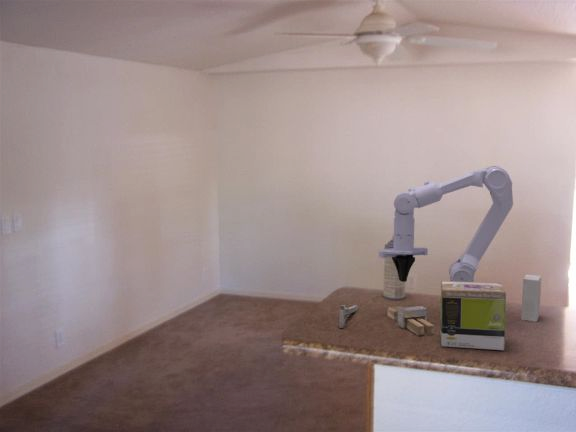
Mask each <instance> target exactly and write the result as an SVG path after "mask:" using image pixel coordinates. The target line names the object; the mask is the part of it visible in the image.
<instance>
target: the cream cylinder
mask: <svg viewBox="0 0 576 432" xmlns="http://www.w3.org/2000/svg"><path fill="white" fill-rule="evenodd" d="M393 246H394V234H393V235H392V238H391V239H390V240H389V241H387V243H386V244H384V249H383V250H386V249H392V248H393ZM382 295H383V298H384V299H386V300H388V301H389V300H390V301H402V300H405V298H406V282H402V281H400V280H399V277H398V272H397V269H396V266H395V264H394V262H393V260H392V257H385V258H383V294H382Z"/></svg>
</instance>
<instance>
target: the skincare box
mask: <svg viewBox="0 0 576 432" xmlns="http://www.w3.org/2000/svg"><path fill="white" fill-rule="evenodd" d="M522 280H523V281H522V284H523V285H522V296H521V297H522V298H521V300H522V301H521V302H522V303H521V318H520V320H521V321H526V320H527V322H534V323H537V321H538V320H539V318H540V313H541V309H540V308H541V293H542V291H541V290H542V289H541V288H542V275H536V274H525V276H524V278H523V279H522Z"/></svg>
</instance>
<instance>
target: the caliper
mask: <svg viewBox="0 0 576 432" xmlns="http://www.w3.org/2000/svg"><path fill="white" fill-rule="evenodd" d="M358 309H359V305H355V304H354V305H351V306H350V307H346V305H345V304H342V305H340V309H339V316H338V317H339V319H338V320H339V322H338V323H339V324H338V326H339V327H338V328H339V329H344V328H345V327H346V319H347V318H349V315H350V314H353V313H355V312H357V311H358Z"/></svg>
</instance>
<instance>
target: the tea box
mask: <svg viewBox="0 0 576 432" xmlns="http://www.w3.org/2000/svg"><path fill="white" fill-rule="evenodd" d="M506 294H507V292H506V291H505V289H504V287H503V285H502V283H501V282H481V281H480V282H479V281H473V282H455V281H454V282H453V281H449V280H447V281H446V280H441V282H440V313H441V315H440V320H439V321H440V322H439V323H440V327H439V328H440V342H441V343H440V344H441V345H440V346H441V347H446V348H447V347H449V348H462V349H463V348H464V349H479V350H491V351H492V350H495V351H504V350H505V344H506V343H505V340H506V339H505V337H506V309H507V308H506V307H507V306H506V305H507V300H506V299H507V295H506Z"/></svg>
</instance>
